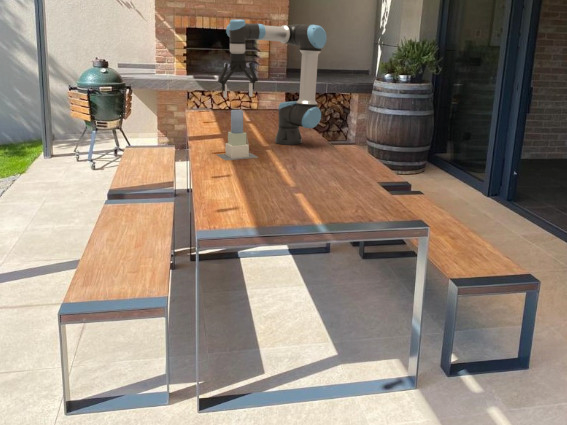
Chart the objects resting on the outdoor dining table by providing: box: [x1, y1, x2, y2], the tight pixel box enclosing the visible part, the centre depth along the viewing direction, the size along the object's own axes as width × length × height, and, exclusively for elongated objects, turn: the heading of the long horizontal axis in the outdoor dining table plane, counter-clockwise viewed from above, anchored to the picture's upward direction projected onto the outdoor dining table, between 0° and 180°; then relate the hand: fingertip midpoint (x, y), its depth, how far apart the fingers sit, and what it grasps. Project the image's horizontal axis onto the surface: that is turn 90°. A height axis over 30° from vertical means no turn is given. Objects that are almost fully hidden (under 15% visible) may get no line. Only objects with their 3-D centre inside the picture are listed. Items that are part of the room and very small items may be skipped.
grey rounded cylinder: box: [230, 109, 244, 134], centre depth 320 cm, size 6×6×11 cm
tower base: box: [225, 142, 250, 159], centre depth 325 cm, size 9×9×6 cm
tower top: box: [227, 131, 246, 146], centre depth 323 cm, size 7×7×6 cm
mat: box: [216, 152, 260, 161], centre depth 326 cm, size 18×14×1 cm
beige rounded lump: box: [243, 131, 250, 146], centre depth 345 cm, size 10×10×10 cm
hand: (238, 97), depth 318 cm, fingers open, 13 cm apart
